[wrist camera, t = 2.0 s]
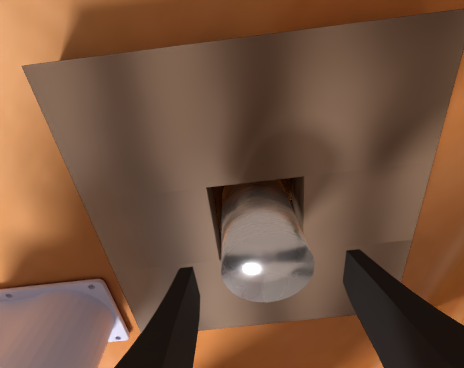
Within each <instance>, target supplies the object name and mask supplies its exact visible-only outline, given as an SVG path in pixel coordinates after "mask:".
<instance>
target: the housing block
mask: <svg viewBox="0 0 464 368" xmlns="http://www.w3.org/2000/svg"><path fill="white" fill-rule="evenodd" d="M463 50H464V9H458V10H451V11H443V12H435V13H427V14H420V15H412V16H404V17H396V18H389V19H381V20H373V21H365V22H358V23H350V24H342V25H334V26H326V27H319V28H311V29H303V30H295V31H288V32H280V33H272V34H264V35H257V36H249V37H241V38H233V39H226V40H218V41H210V42H202V43H195V44H187V45H179V46H171V47H164V48H156V49H148V50H140V51H133V52H125V53H117V54H109V55H102V56H94V57H86V58H78V59H70V60H63V61H55V62H47V63H39V64H32V65H24V66H22V68H23V70H24V73H25V75H26V77H27V79H28V82H29V84H30V86H31V88H32V90H33V93H34V95H35V97H36V99H37V102H38V104H39V106H40V108H41V111H42V113H43V115H44V117H45V119H46V122H47V124H48V126H49V128H50V131H51V133H52V135H53V137H54V140H55V142H56V144H57V146H58V149H59V151H60V153H61V155H62V157H63V160H64V162H65V164H66V166H67V169H68V171H69V173H70V175H71V178H72V180H73V182H74V184H75V186H76V189H77V191H78V193H79V195H80V198H81V200H82V202H83V204H84V207H85V209H86V211H87V213H88V215H89V218H90V220H91V222H92V224H93V227H94V229H95V231H96V233H97V236H98V238H99V240H100V242H101V244H102V247H103V249H104V251H105V253H106V256H107V258H108V260H109V262H110V265H111V267H112V269H113V271H114V273H115V276H116V278H117V280H118V282H119V285H120V287H121V289H122V291H123V294H124V296H125V298H126V300H127V302H128V305H129V307H130V309H131V311H132V314H133V316H134V318H135V320H136V323H137V325H138V327H139V329H140V331H141V333H142V331H143V330H144V328H145V327H146V325H147V324H148V322H149V321H150V319H151V318H152V316H153V315H154V313H155V311H156V310H157V308H158V307H159V305H160V303H161V301H162V300H163V298H164V296H165V295H166V293H167V291H168V289H169V287H170V286H171V284H172V282H173V280H174V278H175V276H176V274H177V272H178V270H179V269H180V268H185V267H193V269H194V273H195V277H196V281H197V285H198V289H199V293H200V319H199V327H198V331H201V330H211V329H221V328H231V327H241V326H250V325H260V324H270V323H280V322H290V321H300V320H310V319H320V318H330V317H339V316H349V315H357V314H356V312H355V310H354V308H353V306H352V305H351V302H350V300H349V297H348V295H347V292H346V290H345V287H344V284H343V274H344V266H345V257H346V251H347V250H356V249H360V250H361V251H362V252H364V253H365V254H366V255H367V256H368V257H370V258H371V259H372V260H373V261H375V262H376V263H377V264H378V265H379V266H381V267H382V268H383V269H384V270H385V271H387V272H388V273H389V274H390V275H392V276H393V277H394V278H395V279H397V280H398V281H399V282H400V283H401V281H402V277H403V273H404V269H405V266H406V262H407V258H408V255H409V251H410V247H411V243H412V240H413V236H414V232H415V229H416V225H417V221H418V217H419V214H420V210H421V206H422V202H423V199H424V195H425V191H426V188H427V184H428V180H429V176H430V173H431V169H432V165H433V162H434V158H435V154H436V150H437V147H438V143H439V139H440V135H441V132H442V128H443V124H444V121H445V117H446V113H447V109H448V106H449V102H450V98H451V95H452V91H453V87H454V83H455V80H456V76H457V72H458V68H459V65H460V61H461V57H462V54H463ZM285 178H292V208H293V211H294V213H295V215H296V218H297V220H298V222H299V225H300V227H301V229H302V232H303V234H304V237H305V239H306V241H307V244H308V246H309V248H310V251H311V253H312V255H313V258H314V272H313V275H312V277H311V279H310V280H309V282H308V283H307V284H306V286H305V287H304V288H302V289H301V290H300V291H299V292H297V293H296V294H294V295H292V296H290V297H288V298H285V299H282V300H278V301H273V302H253V301H249V300H246V299H243V298H240V297H238V296H237V295H235V294H233V293H232V292H231V291H230V290H229V289H228V288H227V287H226V285H225V284H224V282H223V279H222V275H221V235H222V232H220V230H219V225H218V219H217V213H216V207H215V201H214V195H213V189H212V187H215V186H224V185H233V184H242V183H250V182H259V181H268V180H276V179H285Z"/></svg>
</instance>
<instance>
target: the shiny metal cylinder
mask: <svg viewBox="0 0 464 368" xmlns="http://www.w3.org/2000/svg"><path fill="white" fill-rule="evenodd" d="M313 272H314V258H313V255H312V253H311V251H310V248H309V246H308V244H307V241H306V239H305V237H304V234H303V232H302V229H301V227H300V225H299V222H298V220H297V218H296V215H295V213H294V211H293V208H292V206H291V204H290V201H289V199H288V197H287V194H286V192H285V190H284V187H283V185H282V183H281V181H280V180H279V179H276V180H268V181H259V182H250V183H242V184H233V185H225V186H224V189H223V192H222V235H221V275H222V279H223V282H224V284H225V285H226V287H227V288H228V289H229V290H230V291H231V292H232V293H233V294H235V295H237V296H238V297H240V298H243V299H246V300H249V301H253V302H273V301H278V300H282V299H285V298H288V297H290V296H292V295H294V294H296V293H297V292H299V291H300V290H301V289H302V288H304V287H305V286H306V284H307V283H308V282H309V280H310V279H311V277H312V275H313Z"/></svg>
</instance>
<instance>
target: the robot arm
mask: <svg viewBox="0 0 464 368" xmlns="http://www.w3.org/2000/svg"><path fill="white" fill-rule="evenodd" d="M343 284H344V287H345V290H346V292H347V295H348V297H349V300H350V302H351V305H352V306H353V308H354V310H355V312H356V314H357V316H358V318H359V320H360V322H361V324H362V326H363V328H364V329H365V331H366V333H367V335H368V337H369V339H370V341H371V343H372V345H373V347H374V348H375V350H376V352H377V354H378V356H379V358H380V360H381V363H382V365H383V367H384V368H464V325H462V324H460V323H459V322H457V321H455V320H454V319H452V318H451V317H449V316H447V315H446V314H444V313H443V312H441V311H440V310H438V309H437V308H435V307H434V306H432V305H431V304H429V303H428V302H426V301H425V300H423V299H422V298H421V297H419V296H418V295H416V294H415V293H414V292H412V291H411V290H410V289H408V288H407V287H406V286H404V285H403V284H402V283H400V282H399V281H398V280H397V279H395V278H394V277H393V276H392V275H390V274H389V273H388V272H387V271H385V270H384V269H383V268H382V267H381V266H379V265H378V264H377V263H376V262H375V261H373V260H372V259H371V258H370V257H368V256H367V255H366V254H365V253H364V252H362V251H361V250H360V249H356V250H347V251H346V257H345V266H344V274H343ZM199 319H200V293H199V289H198V285H197V281H196V277H195V273H194V269H193V267H185V268H180V269H179V270H178V272H177V274H176V276H175V278H174V280H173V282H172V284H171V286H170V287H169V289H168V291H167V293H166V295H165V296H164V298H163V300H162V301H161V303H160V305H159V307H158V308H157V310H156V311H155V313H154V315H153V316H152V318H151V319H150V321H149V322H148V324H147V325H146V327H145V328H144V330H143V331H142V333H141V334H140V335H139V337H138V338H137V340H136V341H135V342H134V344H133V345H132V346H131V348H130V349H129V350H128V351H127V353H126V354H125V355H124V356H123V358H122V359H121V360H120V361H119V362H118V364H117V365H116V366H115V367H114V368H193V362H194V355H195V348H196V341H197V334H198V327H199ZM129 336H130V333H129V331H128V329H127V327H126V325H125V323H124V321H123V319H122V317H121V314H120V312H119V310H118V308H117V306H116V304H115V302H114V300H113V298H112V296H111V294H110V292H109V290H108V288H107V285H106V283H105V282H104V281H103V280H102V279H91V280H82V281H73V282H63V283H54V284H45V285H35V286H26V287H17V288H7V289H0V368H98V366H99V363H100V360H101V358H102V355H103V353H104V350H105V348H106V345H107V343H108V342H114V341H124V340H127V339H129Z"/></svg>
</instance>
